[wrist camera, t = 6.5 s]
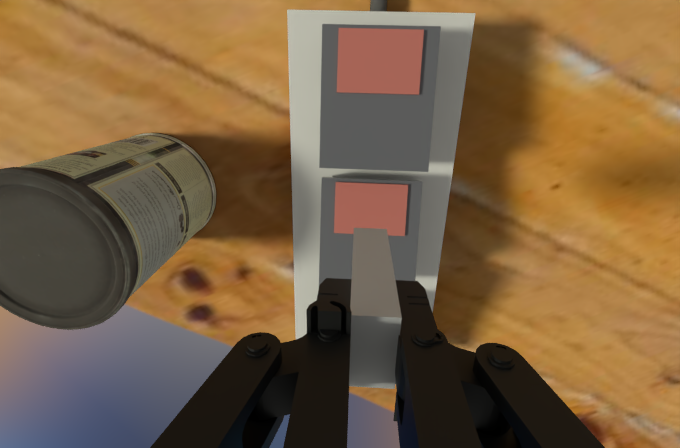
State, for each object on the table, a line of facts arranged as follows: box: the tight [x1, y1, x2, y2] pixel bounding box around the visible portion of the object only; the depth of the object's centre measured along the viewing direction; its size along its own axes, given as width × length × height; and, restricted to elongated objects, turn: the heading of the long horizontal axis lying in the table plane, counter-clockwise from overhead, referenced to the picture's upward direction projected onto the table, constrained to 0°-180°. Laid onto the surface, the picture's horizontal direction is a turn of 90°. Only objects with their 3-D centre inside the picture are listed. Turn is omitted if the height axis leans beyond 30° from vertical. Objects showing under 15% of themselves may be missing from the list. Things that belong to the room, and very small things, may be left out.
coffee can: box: [0, 133, 216, 330], centre depth 27 cm, size 10×10×14 cm
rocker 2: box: [319, 177, 423, 285], centre depth 27 cm, size 8×7×2 cm
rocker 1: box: [319, 24, 441, 172], centre depth 23 cm, size 8×7×2 cm
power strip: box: [287, 0, 475, 340], centre depth 30 cm, size 35×12×6 cm, turn 179°
